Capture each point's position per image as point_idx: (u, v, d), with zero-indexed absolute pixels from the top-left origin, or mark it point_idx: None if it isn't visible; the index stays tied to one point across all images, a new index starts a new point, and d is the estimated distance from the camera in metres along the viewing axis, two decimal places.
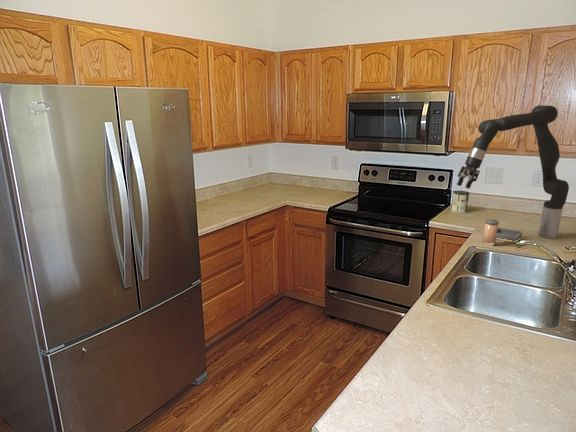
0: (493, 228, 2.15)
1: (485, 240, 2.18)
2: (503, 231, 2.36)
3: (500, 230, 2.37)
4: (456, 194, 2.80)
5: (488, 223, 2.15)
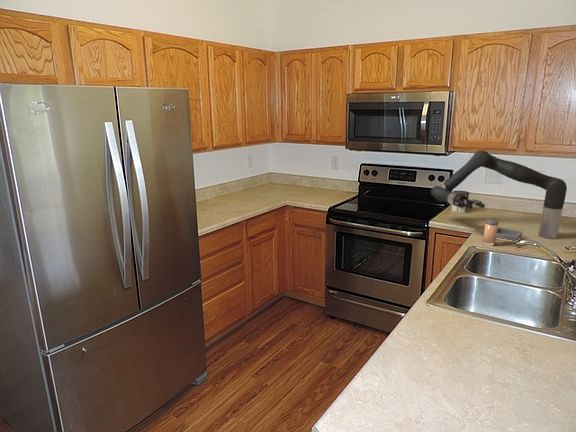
0: (493, 228, 2.15)
1: (485, 240, 2.18)
2: (503, 231, 2.36)
3: (500, 230, 2.37)
4: None
5: (488, 223, 2.15)
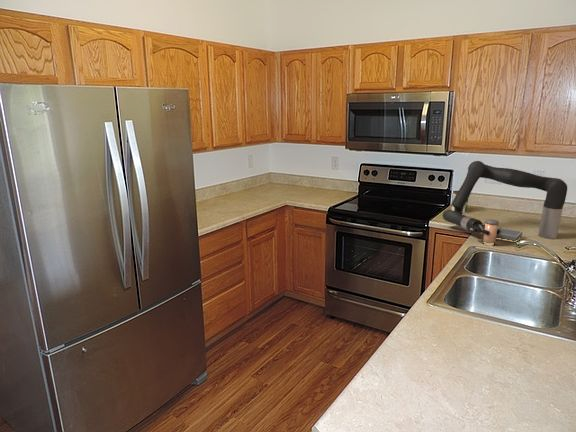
0: (493, 228, 2.15)
1: (485, 240, 2.18)
2: (503, 231, 2.36)
3: (500, 230, 2.37)
4: None
5: (488, 223, 2.15)
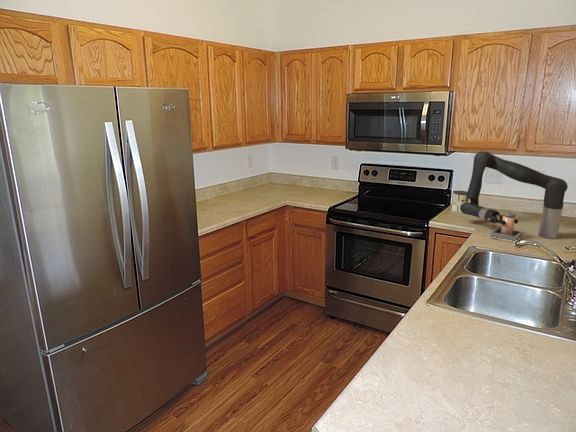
0: (510, 221, 2.25)
1: (503, 232, 2.29)
2: None
3: (500, 230, 2.37)
4: (456, 194, 2.80)
5: (506, 216, 2.25)
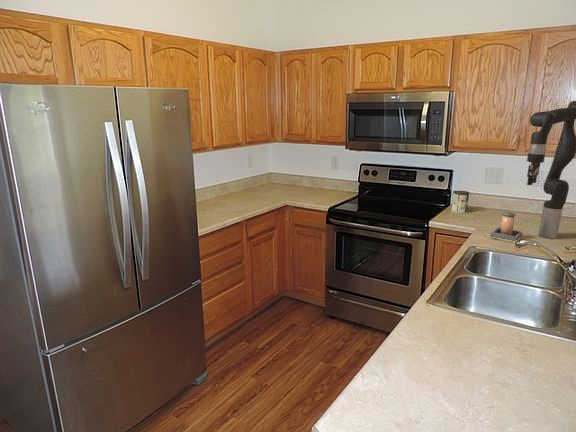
0: (510, 220, 2.25)
1: (503, 232, 2.28)
2: None
3: (500, 230, 2.37)
4: (456, 194, 2.80)
5: (505, 215, 2.26)
